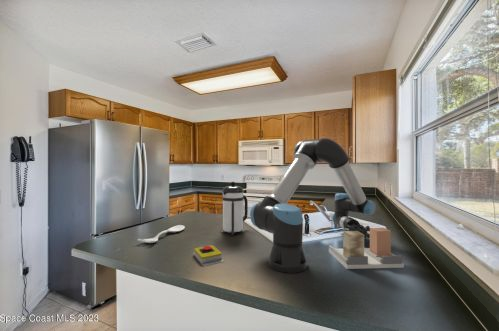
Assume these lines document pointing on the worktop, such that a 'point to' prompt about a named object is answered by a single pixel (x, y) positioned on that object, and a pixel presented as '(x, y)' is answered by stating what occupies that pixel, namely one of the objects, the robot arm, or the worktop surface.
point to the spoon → (172, 229)
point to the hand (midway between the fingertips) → (377, 238)
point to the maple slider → (353, 243)
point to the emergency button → (208, 255)
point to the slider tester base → (366, 260)
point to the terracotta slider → (380, 241)
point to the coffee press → (233, 209)
